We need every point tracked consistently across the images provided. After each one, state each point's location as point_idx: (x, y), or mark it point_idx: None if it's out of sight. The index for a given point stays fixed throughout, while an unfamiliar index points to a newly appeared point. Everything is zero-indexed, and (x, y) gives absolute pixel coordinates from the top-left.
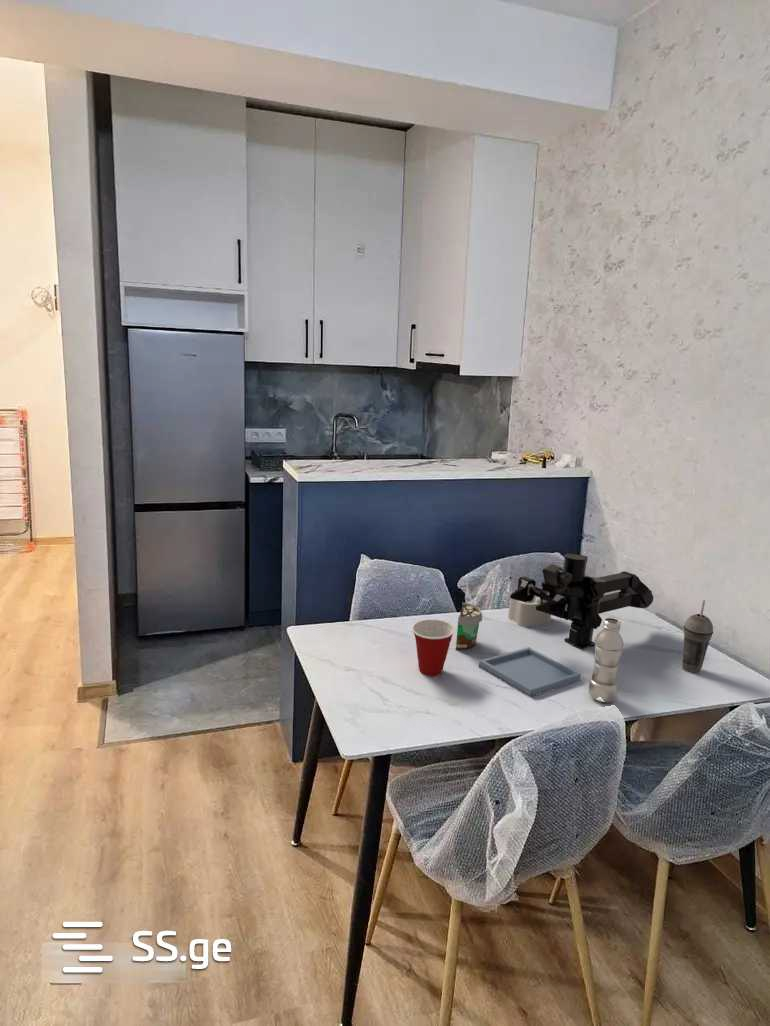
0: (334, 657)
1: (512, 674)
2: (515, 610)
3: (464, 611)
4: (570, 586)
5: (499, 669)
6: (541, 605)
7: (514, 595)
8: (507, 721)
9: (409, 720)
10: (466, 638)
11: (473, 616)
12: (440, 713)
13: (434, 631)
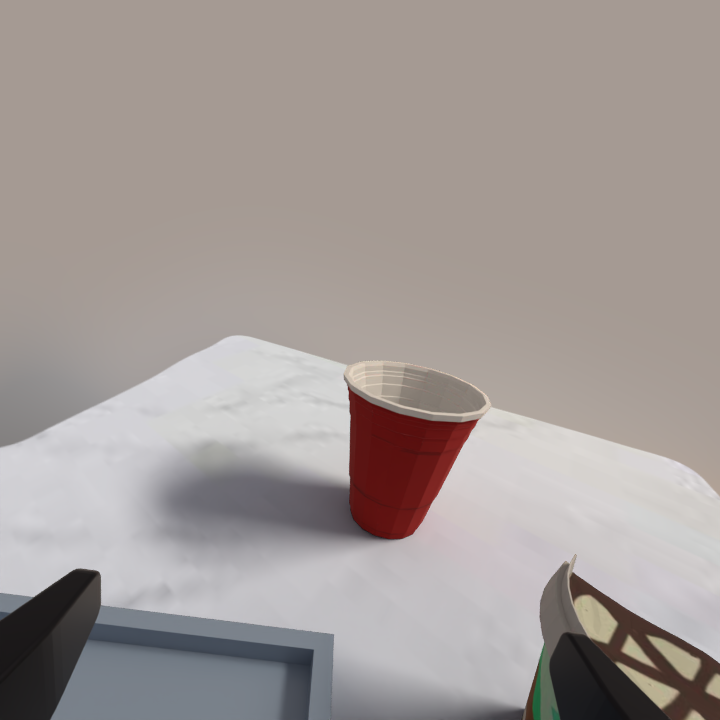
0: (520, 437)
1: (147, 708)
2: None
3: (707, 672)
4: None
5: (233, 693)
6: (16, 611)
7: (582, 695)
8: (31, 462)
9: (232, 384)
10: (532, 698)
11: (578, 620)
12: (204, 415)
13: (457, 444)
